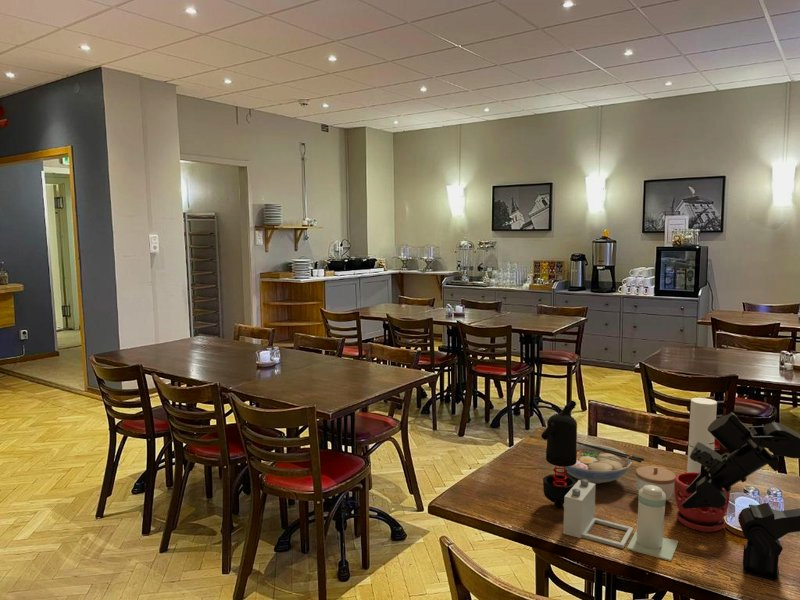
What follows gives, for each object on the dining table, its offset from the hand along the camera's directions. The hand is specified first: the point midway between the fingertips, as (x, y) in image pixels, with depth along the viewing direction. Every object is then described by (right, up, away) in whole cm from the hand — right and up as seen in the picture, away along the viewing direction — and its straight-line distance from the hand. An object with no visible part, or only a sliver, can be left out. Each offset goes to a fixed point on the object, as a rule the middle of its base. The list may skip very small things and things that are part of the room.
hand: (685, 499), depth 145 cm
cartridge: (-6, -13, +6) cm, 15 cm away
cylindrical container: (+25, -8, +44) cm, 51 cm away
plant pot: (+11, -12, +16) cm, 23 cm away
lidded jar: (+6, -10, +31) cm, 33 cm away
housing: (-17, -12, +12) cm, 24 cm away
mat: (-6, -13, +5) cm, 15 cm away
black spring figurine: (-24, -11, +25) cm, 37 cm away
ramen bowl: (-8, -9, +45) cm, 46 cm away
